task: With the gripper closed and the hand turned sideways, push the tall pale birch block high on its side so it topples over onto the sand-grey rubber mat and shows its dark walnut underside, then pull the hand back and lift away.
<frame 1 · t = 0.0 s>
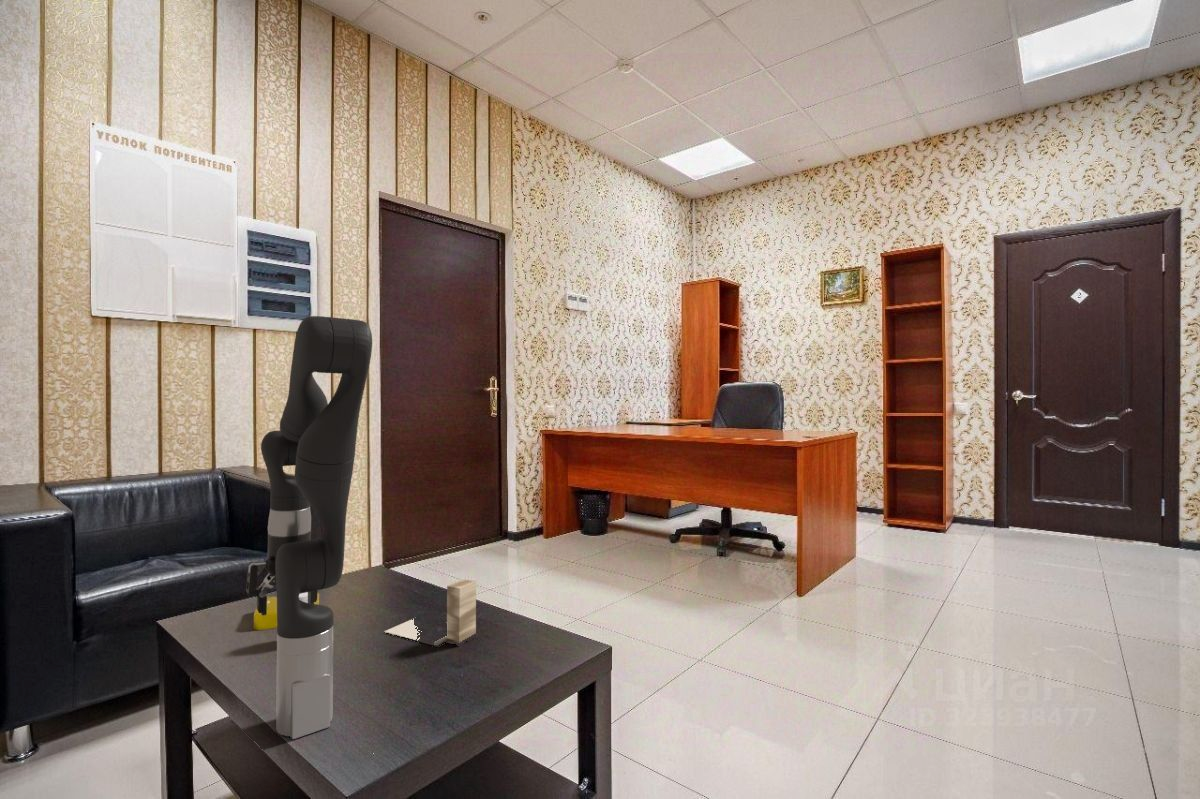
hand: (287, 609, 115), 17 cm above the table, tool pointing down, fingers open, 8 cm apart
birch block: (461, 640, 141), on the table
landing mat: (427, 631, 147), on the table
element tile: (287, 619, 156), on the table
pill bottle: (298, 642, 140), on the table
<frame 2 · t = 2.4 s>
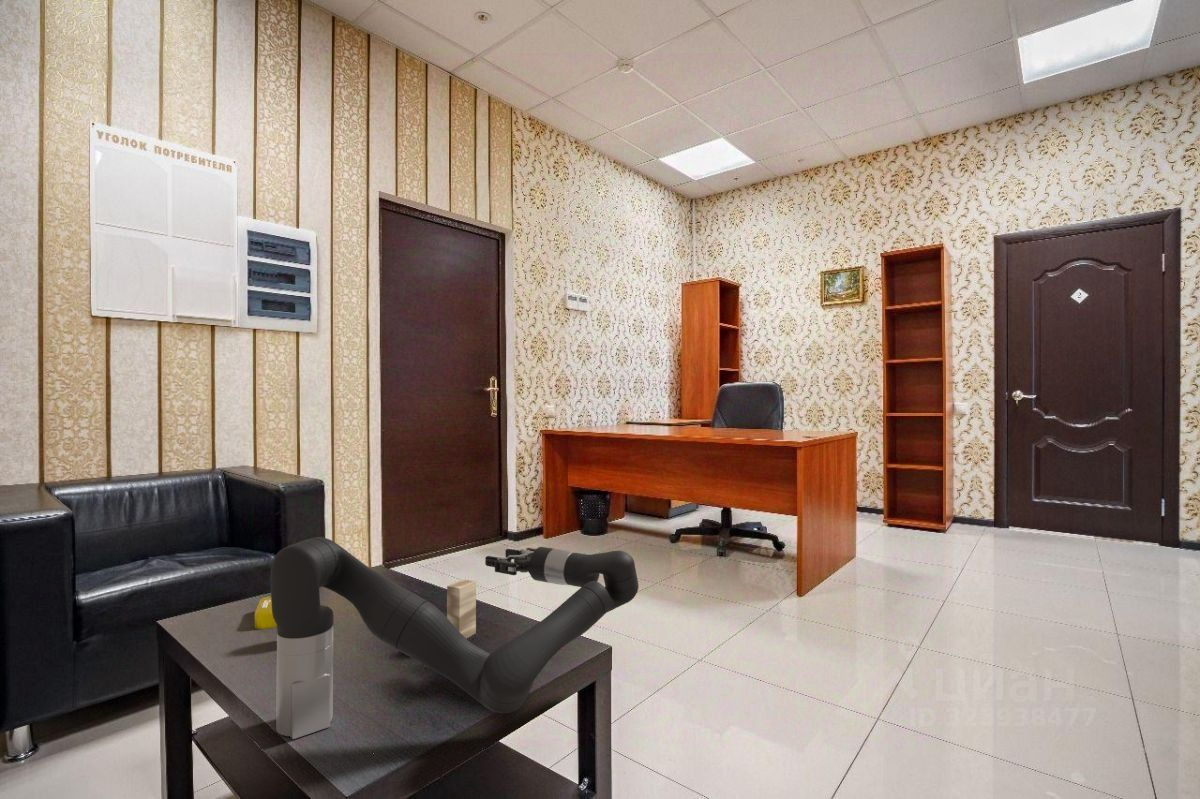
hand: (496, 556, 136), 22 cm above the table, tool horizontal, fingers open, 7 cm apart
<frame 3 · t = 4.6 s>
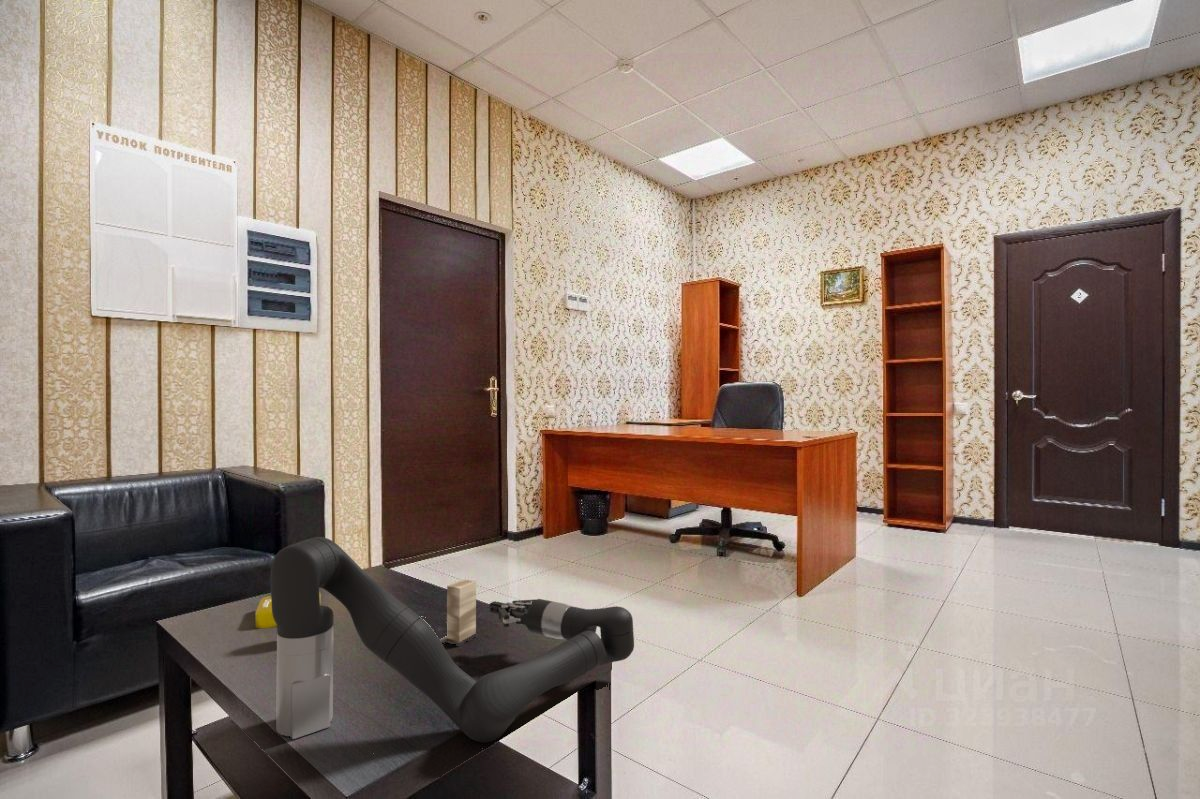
hand: (491, 606, 137), 10 cm above the table, tool horizontal, fingers closed
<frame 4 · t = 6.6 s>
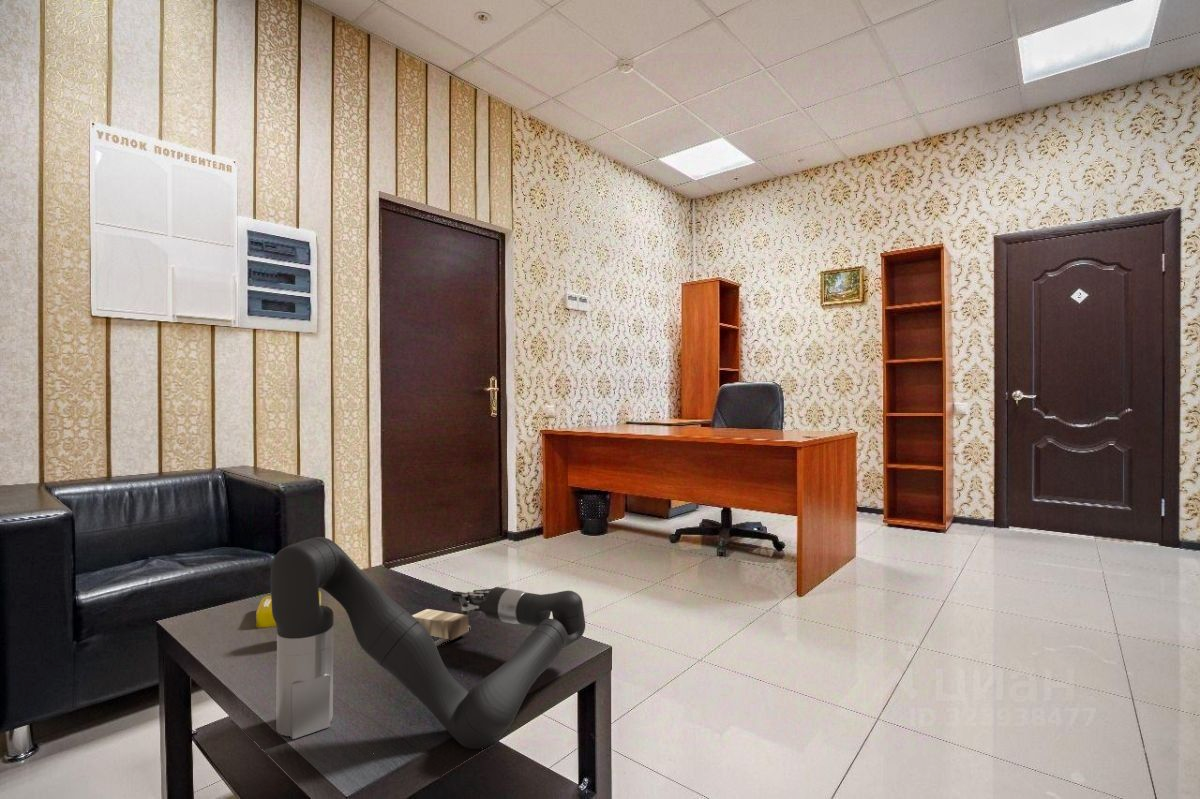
hand: (453, 596, 143), 10 cm above the table, tool horizontal, fingers closed
birch block: (460, 627, 141), point 3 cm above the table, tilted 93°, touching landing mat
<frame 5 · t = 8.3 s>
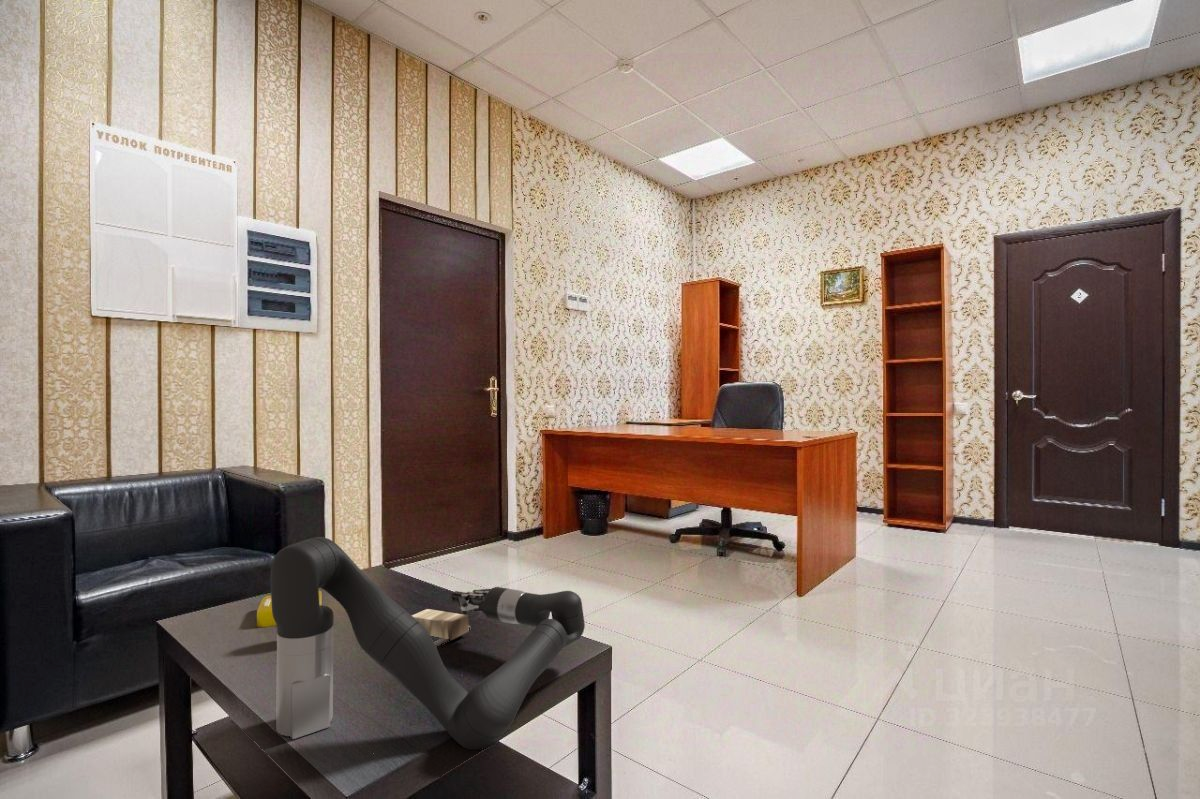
hand: (452, 596, 143), 10 cm above the table, tool horizontal, fingers closed
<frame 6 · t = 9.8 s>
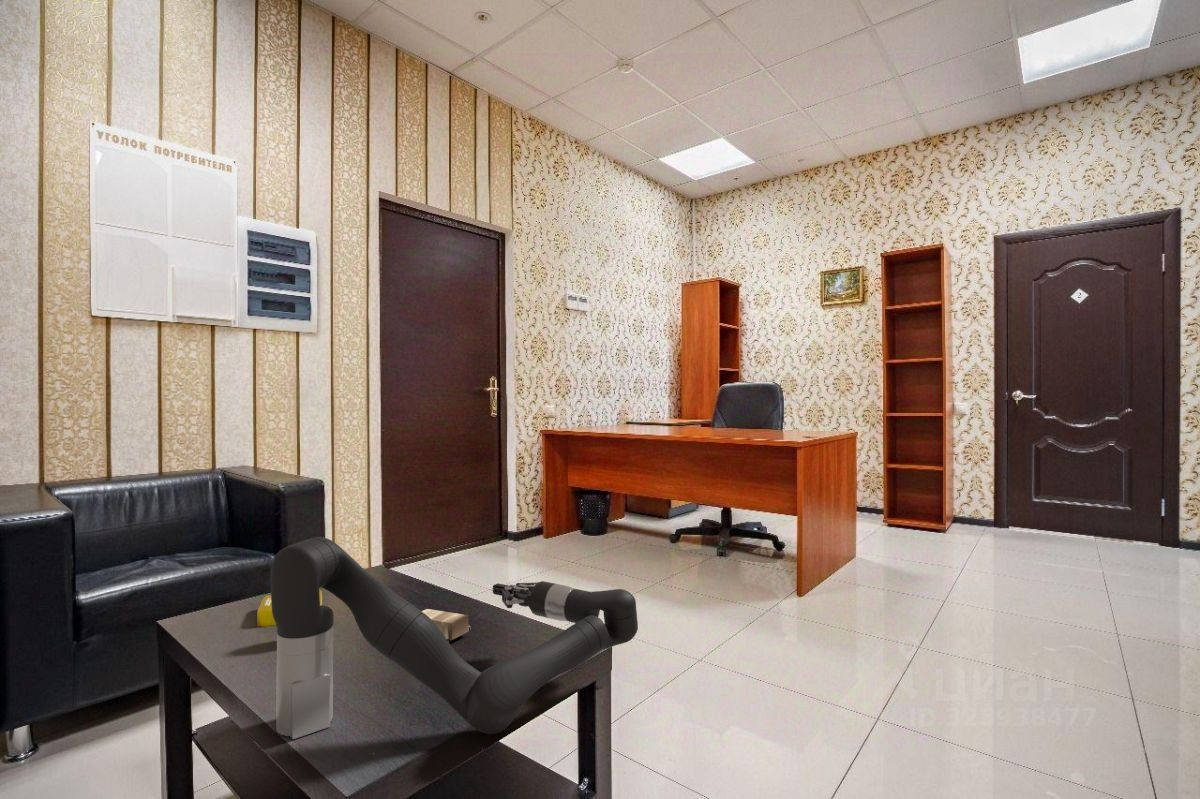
hand: (494, 588, 137), 14 cm above the table, tool horizontal, fingers closed
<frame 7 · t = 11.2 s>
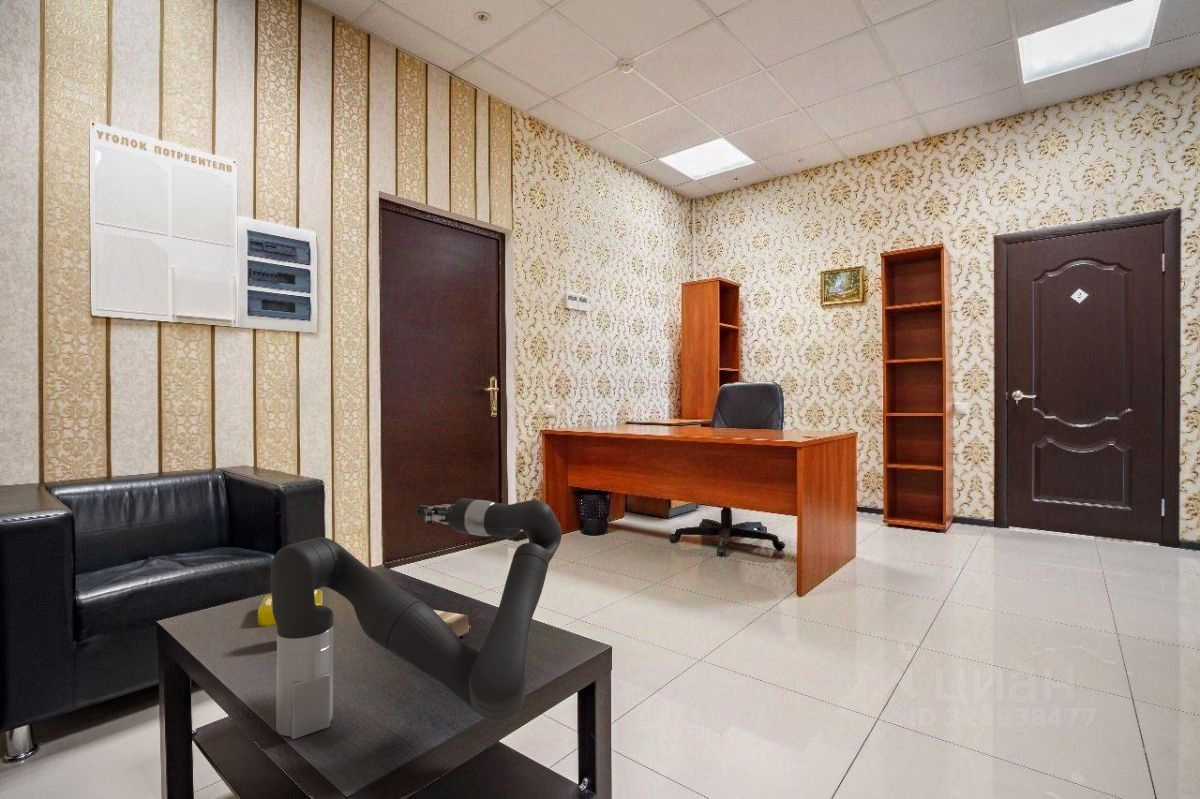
hand: (418, 510, 132), 34 cm above the table, tool horizontal, fingers closed
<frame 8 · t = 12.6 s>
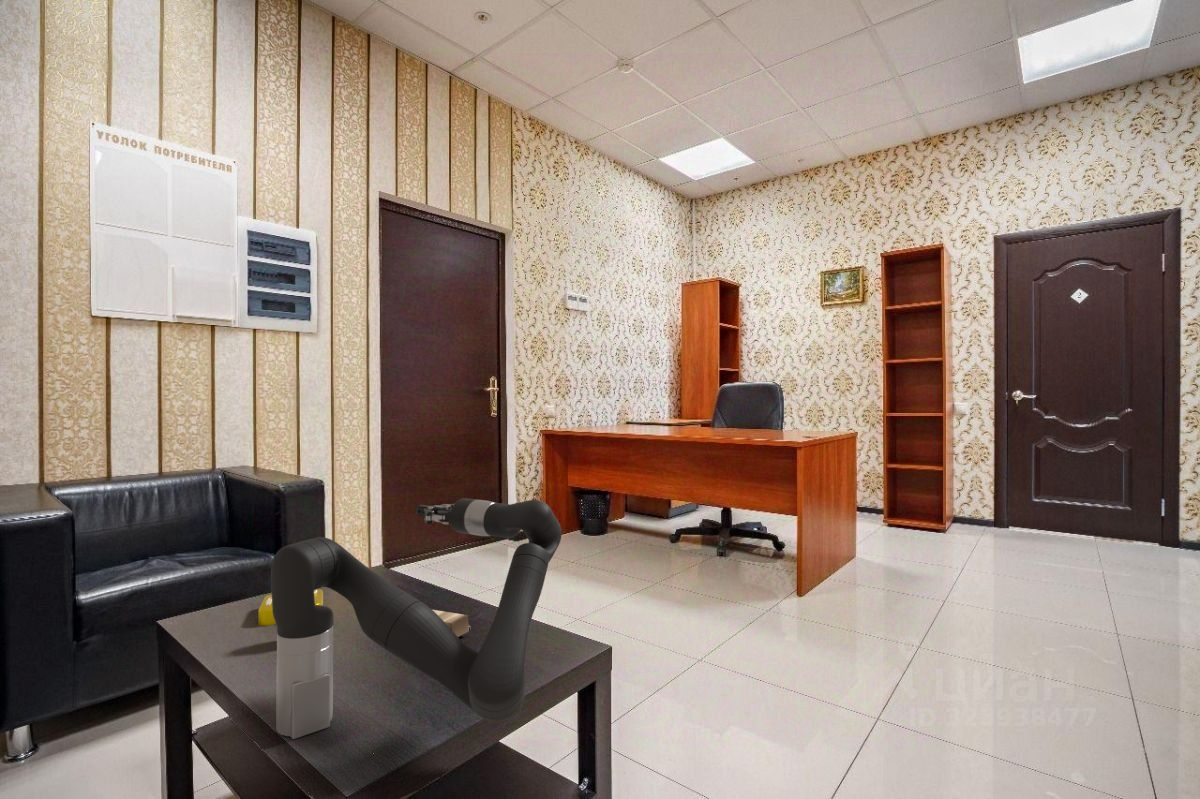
hand: (419, 509, 132), 34 cm above the table, tool horizontal, fingers closed
at the end: birch block tilted 93°; birch block touching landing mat; the gripper is holding nothing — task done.
